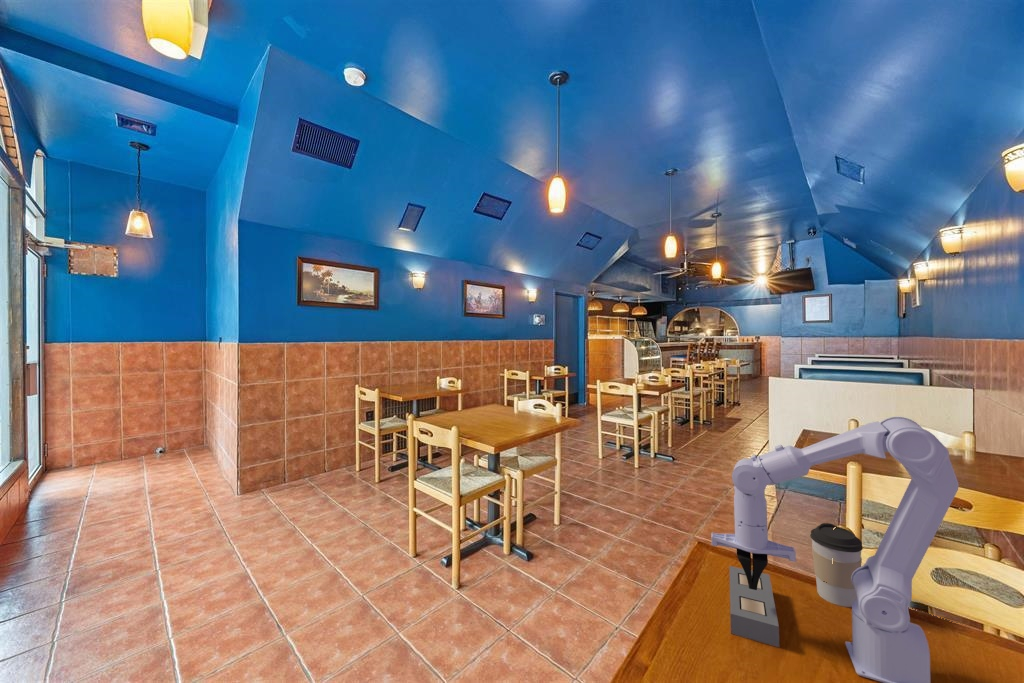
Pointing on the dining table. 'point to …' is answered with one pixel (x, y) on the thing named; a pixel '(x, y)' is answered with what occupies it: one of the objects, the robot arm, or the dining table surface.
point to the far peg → (745, 582)
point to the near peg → (752, 606)
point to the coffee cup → (835, 563)
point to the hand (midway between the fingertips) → (752, 586)
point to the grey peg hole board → (749, 622)
